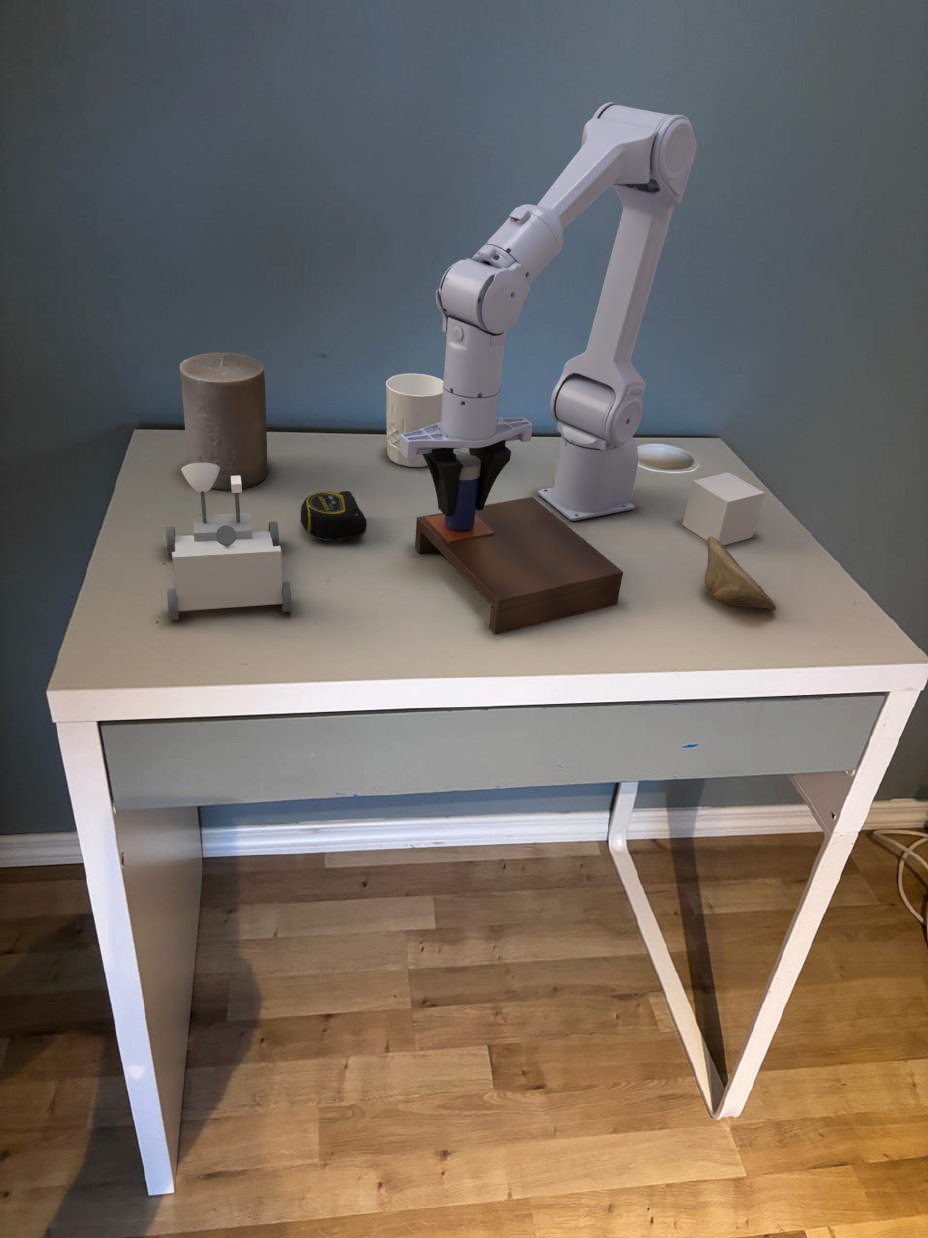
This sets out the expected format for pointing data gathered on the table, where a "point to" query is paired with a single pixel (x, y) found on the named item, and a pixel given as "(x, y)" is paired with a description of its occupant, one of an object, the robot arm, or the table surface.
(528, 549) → the desk shelf
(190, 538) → the toy car
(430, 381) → the white cup
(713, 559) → the samosa
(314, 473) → the table surface
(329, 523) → the tape measure
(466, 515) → the glue stick
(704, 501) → the white cube
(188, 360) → the pillar candle
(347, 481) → the table surface
